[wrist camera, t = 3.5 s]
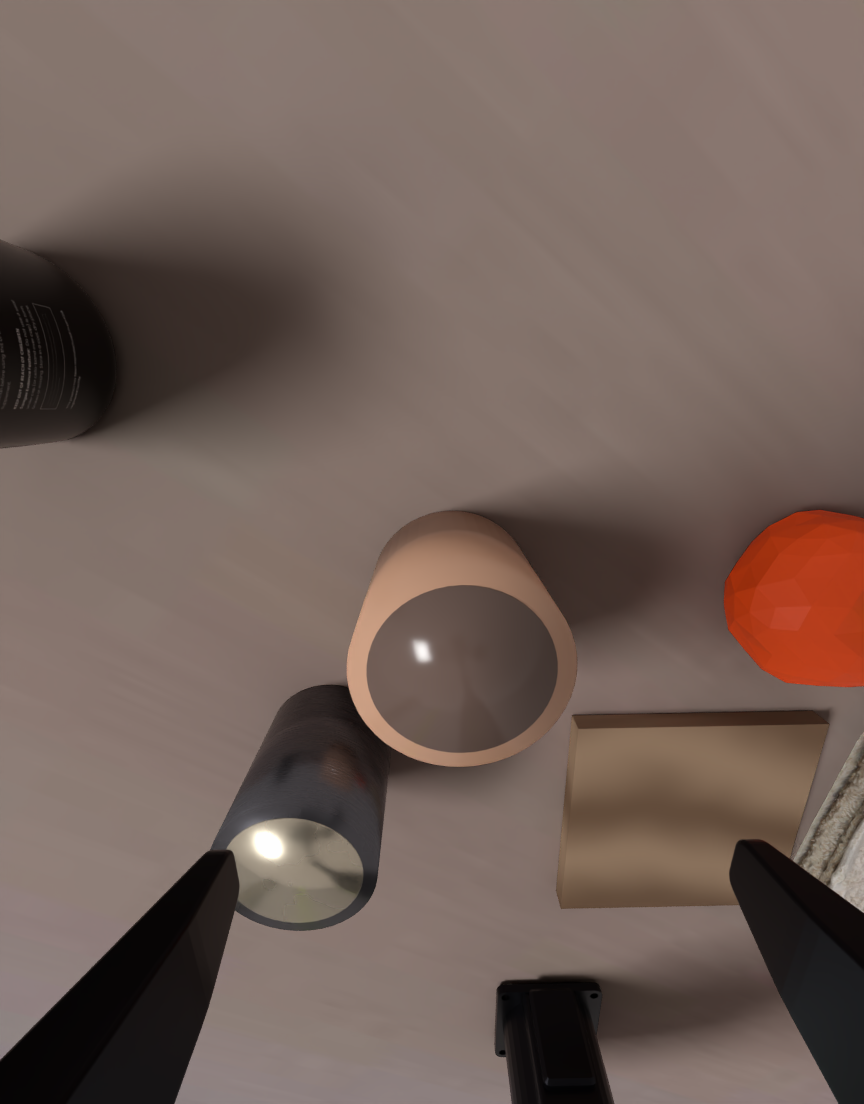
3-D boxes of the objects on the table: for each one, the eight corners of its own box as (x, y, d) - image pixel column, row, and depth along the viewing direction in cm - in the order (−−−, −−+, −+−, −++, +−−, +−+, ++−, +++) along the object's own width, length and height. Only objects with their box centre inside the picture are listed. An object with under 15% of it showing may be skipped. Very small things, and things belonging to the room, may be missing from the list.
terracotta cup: (525, 654, 22) (568, 765, 15) (377, 656, 22) (354, 770, 15) (532, 509, 19) (587, 563, 13) (368, 512, 19) (337, 568, 13)
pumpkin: (707, 500, 20) (838, 515, 14) (882, 513, 20) (1090, 533, 14) (679, 653, 21) (787, 731, 15) (844, 664, 22) (1019, 745, 15)
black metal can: (394, 782, 24) (381, 930, 17) (279, 785, 24) (221, 933, 17) (389, 684, 22) (372, 805, 15) (265, 686, 22) (193, 809, 15)
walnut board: (763, 886, 26) (775, 904, 25) (556, 890, 26) (561, 908, 25) (812, 710, 23) (829, 724, 22) (572, 715, 23) (578, 728, 22)
